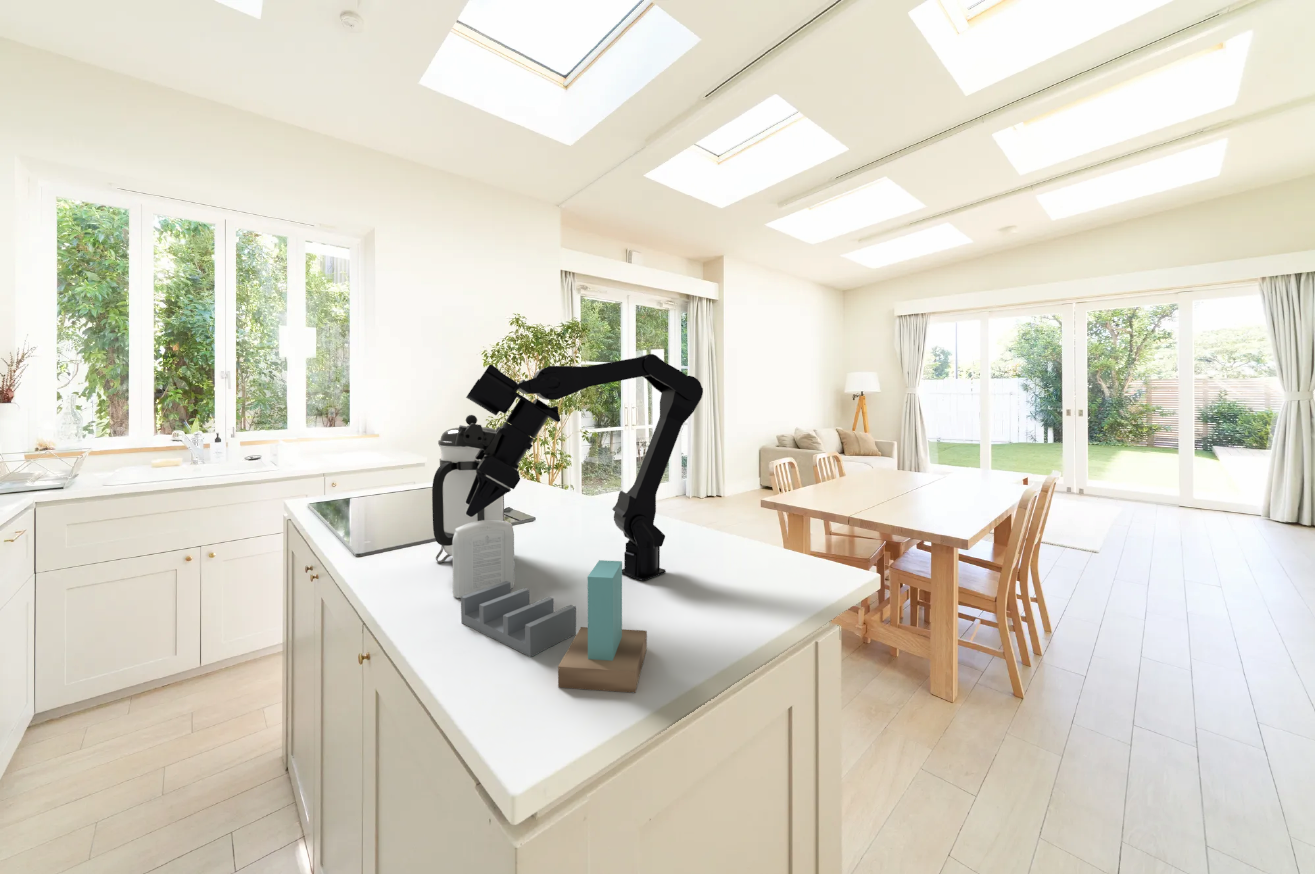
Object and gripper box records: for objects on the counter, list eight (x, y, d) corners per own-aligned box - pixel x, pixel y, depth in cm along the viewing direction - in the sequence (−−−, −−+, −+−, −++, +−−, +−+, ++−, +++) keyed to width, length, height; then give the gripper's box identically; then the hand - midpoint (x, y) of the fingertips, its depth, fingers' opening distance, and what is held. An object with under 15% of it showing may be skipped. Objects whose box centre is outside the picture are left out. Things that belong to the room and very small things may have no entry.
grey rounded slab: (510, 581, 90) (509, 514, 89) (518, 588, 86) (517, 519, 85) (450, 593, 84) (449, 522, 83) (455, 601, 81) (454, 527, 80)
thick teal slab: (599, 635, 64) (599, 560, 63) (621, 636, 64) (622, 561, 63) (587, 659, 58) (587, 576, 57) (612, 660, 58) (612, 577, 57)
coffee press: (427, 552, 106) (423, 414, 104) (502, 542, 114) (500, 413, 112) (434, 578, 91) (430, 416, 89) (521, 564, 99) (519, 415, 97)
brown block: (580, 644, 67) (580, 626, 66) (646, 648, 66) (646, 630, 65) (558, 687, 57) (558, 666, 57) (635, 692, 56) (635, 671, 56)
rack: (507, 605, 79) (506, 581, 79) (575, 633, 70) (575, 606, 69) (461, 622, 73) (460, 596, 73) (530, 657, 63) (529, 627, 63)
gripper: (475, 404, 90) (426, 477, 88) (478, 405, 73) (417, 496, 71) (528, 436, 94) (482, 506, 92) (543, 444, 77) (487, 531, 74)
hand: (468, 509), depth 82 cm, fingers open, 9 cm apart
